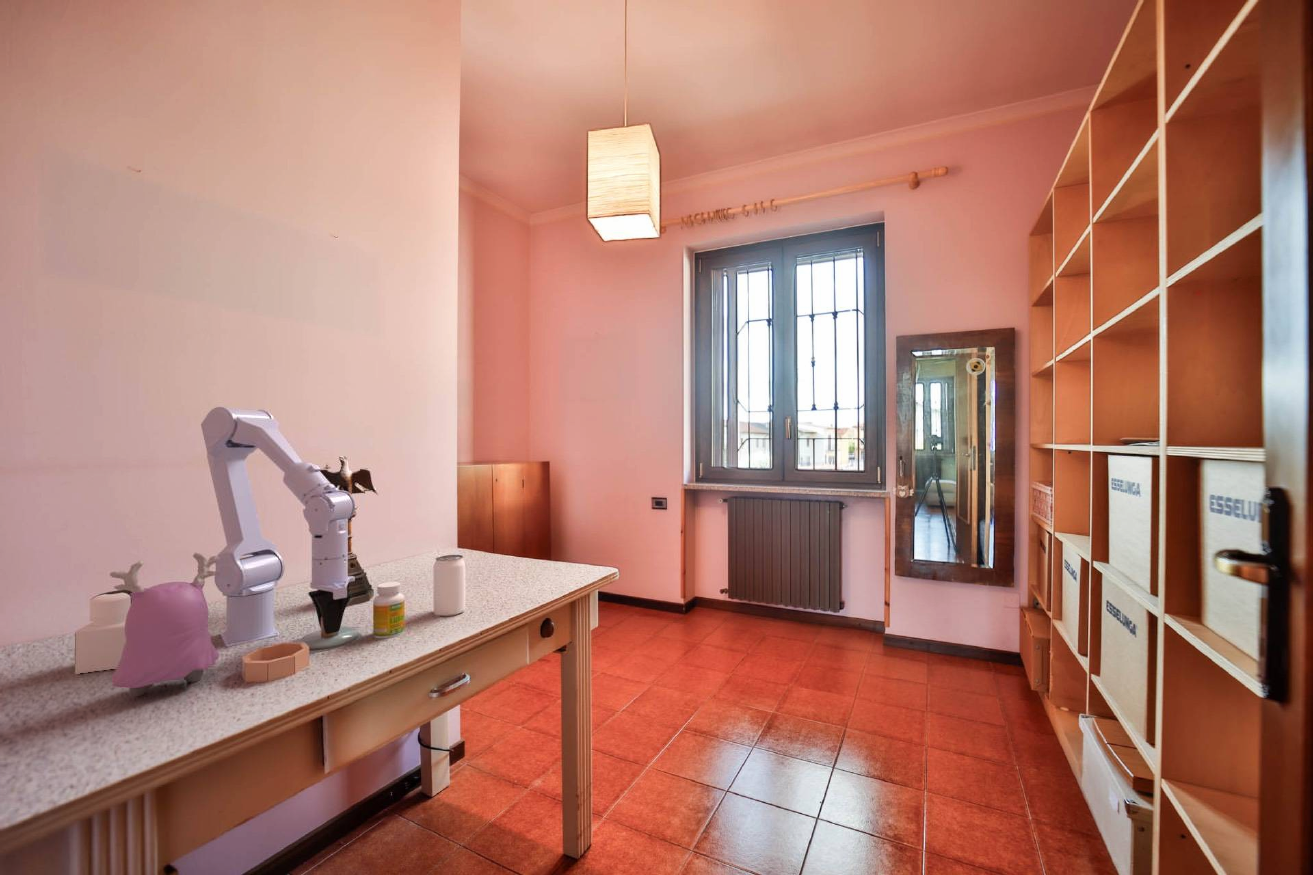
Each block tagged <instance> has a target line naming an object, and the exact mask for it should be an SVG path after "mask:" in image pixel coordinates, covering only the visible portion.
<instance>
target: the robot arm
mask: <svg viewBox="0 0 1313 875" xmlns="http://www.w3.org/2000/svg"><path fill="white" fill-rule="evenodd" d="M200 425H201V426H200V427H201V432H202V436H203V439H204V445H205V448H206V457H207V458H206V459H207V463H208V466H209V467H208V468H209V470H210V471H209V472H210V475H211V479H212V483H213V488H214V493H215V497H216V502H217V506H218V511H219V516H220V519H221V524H222V528H223V532H224V536H225V542H226V546H224V548H223V549H222V550H221V551H220V552H219V553H218V554H217V555H216V556H218V557H219V560H218V561H217V562H216V563H214V564H215V571H220V573H219V574H217V575H214V578H213V579H214V584H215V586H216V588H217V589H218V591H220V592H221V593H222V596H223V597H224V596H225V597H226V630H225V631H224V632H221V633H220V637H221V639H222V641H223V644H224V646H225V648H226V647H227V648H229V647H230V648H231V647H234V646H238V645H243V644H248V643H253V642H257V641H262V640H266V639H271V638H275V637H280V632H279V631H278V630H277V629H276V627H275V587H277V586H278V581H280V580H281V579H282V577H283V576H284V573H285V569H286V568H285V567H286V566H285V561H284V559H283V557H282V556H281V554H280V553H279V552H278V549H277V545H276V543H274V542H272V541H270V540H269V539H267V538H266V537H264V536H263V534H262V530H261V525H260V521H259V517H258V512H257V509H256V504H255V499H254V495H253V491H252V484H251V482H250V477H249V473H248V468H247V465H246V464H247V463H246V459H247V458H248V456H250V454H253V453H254V452H255V451H256V450H258V449H259V450H260V451H261V452H262V453H263V454H264V455H265V456H266V457H268V458H269V460H270V461H271V462H273V464H275V466H277V467H278V468H279V469H280V470H281V471H282V472H283V473H284V475H283V479H282V481H283V483H284V485H285V486H286V488H288V489H289V490H290V491H291V492H292V493H293V496H295V497H296V499H298V500H299V501H300V502H301V504H302V505H303V506H304V507H305V508H303V509H302V512H303V516H304V519H305V520H306V522H307V524H308V532H310V535H311V582H310V585H309V587H310V589H312V590H313V589H314V590H313V591H309V592H308V593H307V594H308V596H309V598H310V599H311V601H312V603H313V605H314V606H313V607H314V608H315V612H316V615H317V619H318V624H319V627H320V629H321V617H322V620H323V626H324V630H325V633H326V634H330V633H334V632H338V631H339V629H340V627H342V626H341V625H342V622H343V617H344V613H345V610H346V607H347V606H346V605H347V603H348V602H349V600H350V598H351V596H352V593H350V592H347V585H348V583H349V582H352V581H355V577H353V576H348V519H349V518H350V517H351V516H352V515H353V513H354V511H355V505H356V504H355V503H356V502H355V500H354V498H353V497H352V494H351V495H350V493H349V492H347V491H341V490H339V489H338V488H339V487H337V488H336V487H335V486H334V485H333V484H331V483H330V482H329V481H328V480H327V479H326V477H325V476H324V475H323V474H322V473H321V472H320V470H321V469H322V468H320V467H319V465H318V464H314V463H312V462H303V460H302V459H301V457H299V455H298V454H297V453H296V451H295V449H293V448H292V446H291V445H290V444H289V442H288V441H287V440H286V438H285V436H284V435H283V434H282V433H281V431H280V422H279V421H278V420H277V419H275V417H274V416H273V414H272V413H270V411H268V410H265V409H256V410H255V409H245V408H228V407H224V406H218V407H217V406H216V407H214V408H212V409H211V410H210V411H209V412H208V413H207V415H206V416H205V417H204V419H203V421H201V423H200ZM243 556H244V557H243ZM245 556H246V557H245Z"/></svg>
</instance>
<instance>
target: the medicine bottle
mask: <svg viewBox="0 0 1313 875" xmlns="http://www.w3.org/2000/svg"><path fill="white" fill-rule="evenodd" d="M131 593H132V592H131V591H129V590H114V591H113V590H112V591H107V592H102V593H100V594H97V595H95V596H93V597H92V598H91V599H90V600H89V621H90V622H91V623H88V624H86V625H85V626H82V627H80V628H79V629H77V630H76V631H75V633H74V674H75V675H81V674H80V673H84V674H89V673H88V672H92V671H99V672H104V671H103V670H107V671H111V670H110V669H114V670H116V669H117V666H118V664H119V662H120V660H121V656H122V652H123V648H124V645H125V642H126V637H125V622H126V617H127V613H128V610H129V608H130V606H131V603H132V599H131V595H130V594H131ZM92 673H93V672H92Z"/></svg>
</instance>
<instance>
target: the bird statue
mask: <svg viewBox="0 0 1313 875" xmlns="http://www.w3.org/2000/svg"><path fill="white" fill-rule="evenodd" d="M338 460H339V462H340V465H341V466H340V468H339V471H333V470H330V469H331V468H332V467H331V466H329V463H328V462H326V465H325V466H324V468H320V469H321V470H320V472H321V473H322V474H323V475H324V476H325V477H326V479H327V480H328V481H329V482H330V483H331V484H333V485H334V486H335V487H336V488H338V489H339V490H341V491H347V492H349V493H350V495H351V496H352V495H355V494H366V492H373V493H375V494H376V495H377V496H378V495H379V494H378V492H377V487H375V486H374V485H373V480H372V473H371V471H370V469H369V468H368V467H367V468H365V467H361V468H359V470H355V471H352V470H350V468H349V461H348V457H346V456H345V455H339V456H338ZM358 485H359V486H358ZM360 486H361V487H360ZM357 508H358V505H356V504H355V511H354V513H353V515H352V516H351V517H350V518H349V519H348V576H353V577H355V581H352V582H349V583H348V585H347V592H350V593H352V596H351V598H350V600H349V602H348V603H347V605H346V607H352V606H355V605H358V604H362V603H367V602H369V601H370V600H371V599H372V598H373V597H374V588H373V585H372V584H371V583H370V581H369V579H368V578H369V577H368V576H367V572H366V571H365V568H362V566H361V564H360V562H359V561H358V559H357V558H358V555H356V554H357V553H354V552H353V551H352V544H353V543H352V538H353V537H354V536H353V535H352V521H353V518H355V517H356V516H357Z"/></svg>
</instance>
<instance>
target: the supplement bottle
mask: <svg viewBox="0 0 1313 875" xmlns="http://www.w3.org/2000/svg"><path fill="white" fill-rule="evenodd" d="M376 589H377V590H376V592H377V594H378V595H377V596H375V597H374V598H373V603H372V604H373V605H372V606H373V607H372V610H373V611H372V613H373V614H372V617H373V619H372V620H373V622H372V624H373V625H372V628H373V629H372V631H373V632H372V634H373V635H372V637H374V638H375V639H389V638H394V637H397V636H400V635H402V634H403V633H405V624H406V623H405V620H406V619H405V614H406V612H405V608H406V607H405V606H406V605H405V602H406V601H405V595H404V594H402V593H401V582H398V581H388V582H383V583H380V584H378V585H377V587H376Z"/></svg>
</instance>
